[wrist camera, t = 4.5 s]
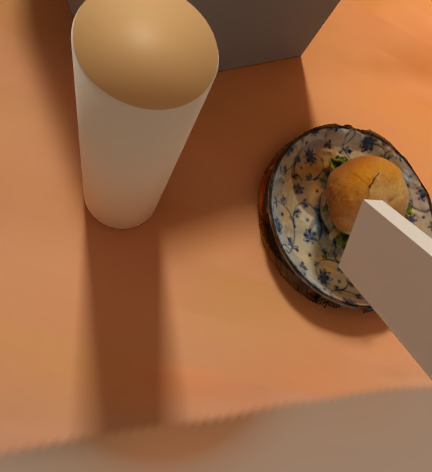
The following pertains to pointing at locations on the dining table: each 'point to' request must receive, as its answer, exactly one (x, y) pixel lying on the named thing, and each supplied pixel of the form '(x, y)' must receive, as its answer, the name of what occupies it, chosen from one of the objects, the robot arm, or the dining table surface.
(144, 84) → the coin roll
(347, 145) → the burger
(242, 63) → the gray square-hole box
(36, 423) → the dining table surface
